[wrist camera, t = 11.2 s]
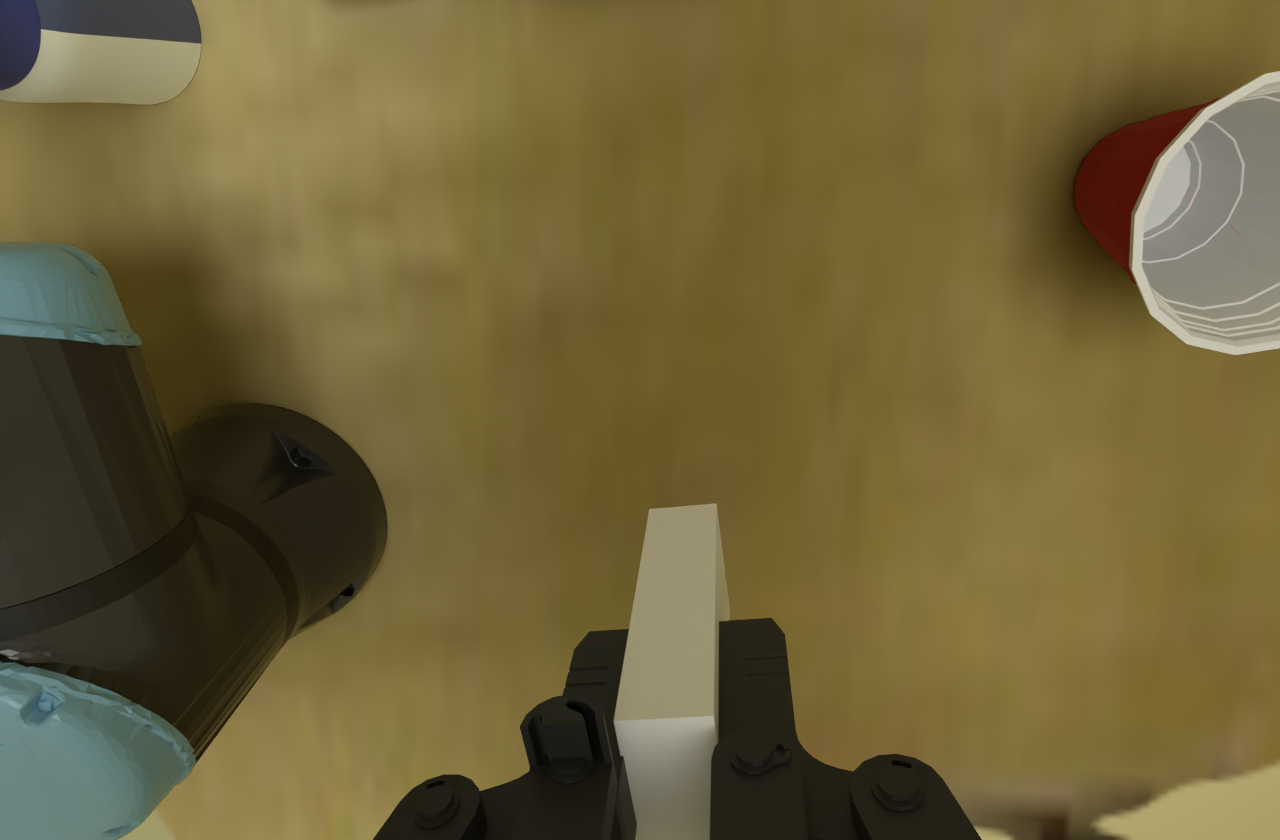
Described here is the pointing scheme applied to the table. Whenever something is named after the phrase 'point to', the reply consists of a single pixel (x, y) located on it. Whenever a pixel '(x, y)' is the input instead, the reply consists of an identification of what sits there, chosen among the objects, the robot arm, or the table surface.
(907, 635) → the table surface
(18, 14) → the blue-banded white tube
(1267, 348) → the plastic cup
